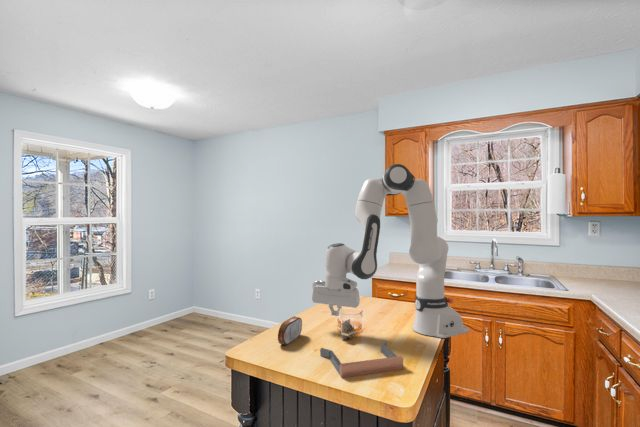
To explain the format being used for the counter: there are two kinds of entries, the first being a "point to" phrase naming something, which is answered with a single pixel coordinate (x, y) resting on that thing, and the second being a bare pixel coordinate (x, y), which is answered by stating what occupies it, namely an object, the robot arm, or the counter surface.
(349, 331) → the grey irregular piece
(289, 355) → the counter surface
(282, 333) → the tin
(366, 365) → the brown drawer handle
